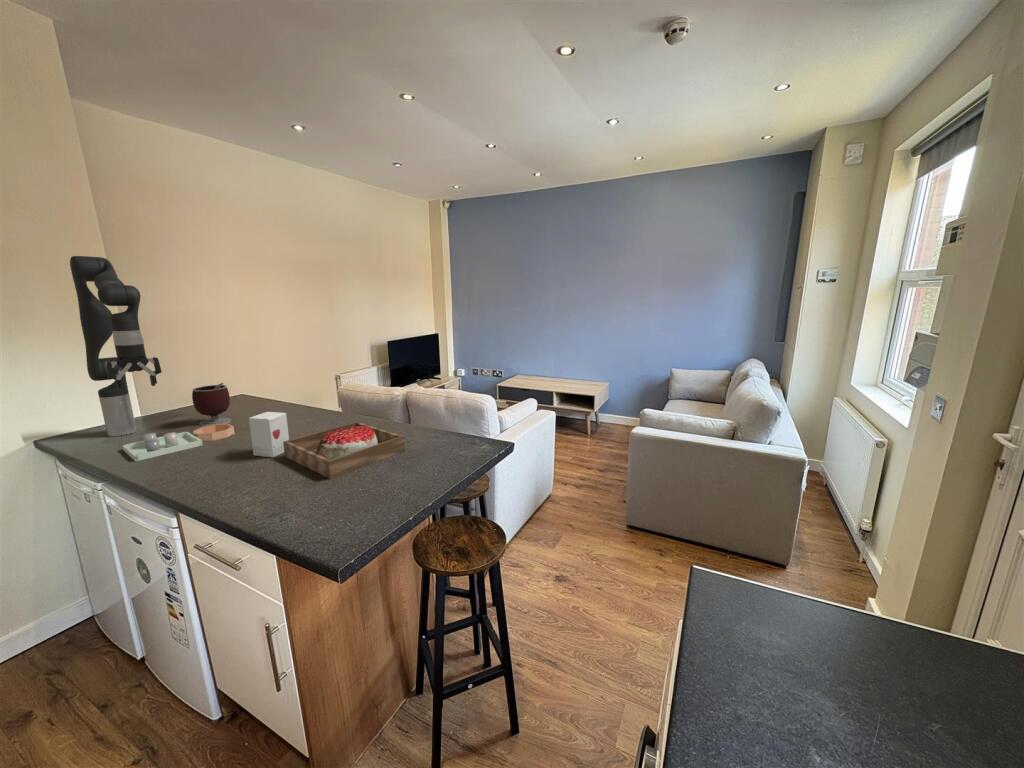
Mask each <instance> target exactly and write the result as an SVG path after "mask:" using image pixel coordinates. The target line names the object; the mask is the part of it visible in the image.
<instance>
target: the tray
mask: <svg viewBox="0 0 1024 768" xmlns="http://www.w3.org/2000/svg"><path fill="white" fill-rule="evenodd" d="M176 434H177V440H178V445H177V446H173V447H169V448H166V445H165V440H164V435H163V436H158V437H157V440H159V444H160V450H156V451H151V452H147V450H146V448H145V444H144V440H141V441H135V442H131V443H127V444H126V443H125V444H123V445H121V446H122V451H123V452H125V453H126V455H128V456H129V457H130V458H131V459H132V460H133V461H134V462H138V461H144V460H148V459H151V458H155V457H156V458H157V457H160V456H163V455H168V454H172V453H176V452H180V451H184V450H189V449H193V448H197V447H201V446H204V444H203V441H202V440H201V439H199V438H197V437H196V436H194V435H193V433H190V432H188V431H183V432H178V433H177V432H176Z"/></svg>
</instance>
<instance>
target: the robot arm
mask: <svg viewBox="0 0 1024 768" xmlns="http://www.w3.org/2000/svg"><path fill="white" fill-rule="evenodd" d="M69 265H70V266H69V267H70V271H71V276H72V281H73V283H74V288H75V291H76V297H77V302H78V303H77V304H78V310H79V311H78V313H79V318H80V319H79V320H80V325H81V326H80V327H81V330H82V335H83V339H84V340H83V341H84V345H85V353H86V354H85V356H86V357H85V358H86V367H87V368H86V369H87V373H88V376H89V378H90V379H91V380H92V381H94V382H99V381H100V382H101V381H108V380H109V381H110V380H114V381H113V382H112V383H110V384H109V385H107V386H105V387H102V388H100V389H98V391H97V394H98V398H99V404H100V408H101V412H102V417H103V420H104V421H103V422H104V426H105V429H106V434H107V435H106V436H108V437H120V436H121V435H122V436H126V434H127V435H130V433H131V434H133V433H135V432H137V431H138V430H137V426H136V420H135V417H134V416H135V415H134V412H133V407H132V403H131V397H130V396H131V395H130V392H129V389H128V388H129V387H128V383H127V382H128V381H127V377H126V375H127V374H126V373H133V372H141V371H145V372H146V373H147V374H148V375H149V381H150V385H151V386H152V387H156V385H157V383H158V380H157V377H156V376H157V375H159V374H161V373H163V372H162V367H161V365H160V364H161V363H160V360H159V357H156V356H153V357H147V355H146V349H145V343H144V342H145V341H144V338H143V334H142V331H141V328H140V327H141V326H140V323H139V307H140V303H141V292H140V291H139V290H138V289H139V288H137V287H135V286H134V285H128V284H127V285H125V284H124V282H123V281H122V280H121V279H120V278H119V277H118V274H117V273H116V270H115V268H114V265H113V263H111V262H110V260H109V259H108V258H105V257H101V256H85V255H84V256H83V255H73V256H71V257H70V259H69ZM87 282H91V283H92V282H94V286H95V287H96V289H97V297H96V295H95V294H94V293H93V292H92V291H91V290H90V287H88V284H87ZM107 306H108V307H127V308H126V309H125V311H121V312H116V313H113V312H112V311H111V309H109V308H108V307H107ZM111 337H112V340H113V344H114V349H115V354H116V356H112V357H101V358H100V353H101V350H102V348H103V347H104V345H105V344H106V343H107V342H108V340H110V338H111ZM148 363H151V364H153V367H154V370H151V369H150V368H149V367H148V366H147V365H148ZM122 436H121V437H122Z"/></svg>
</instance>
